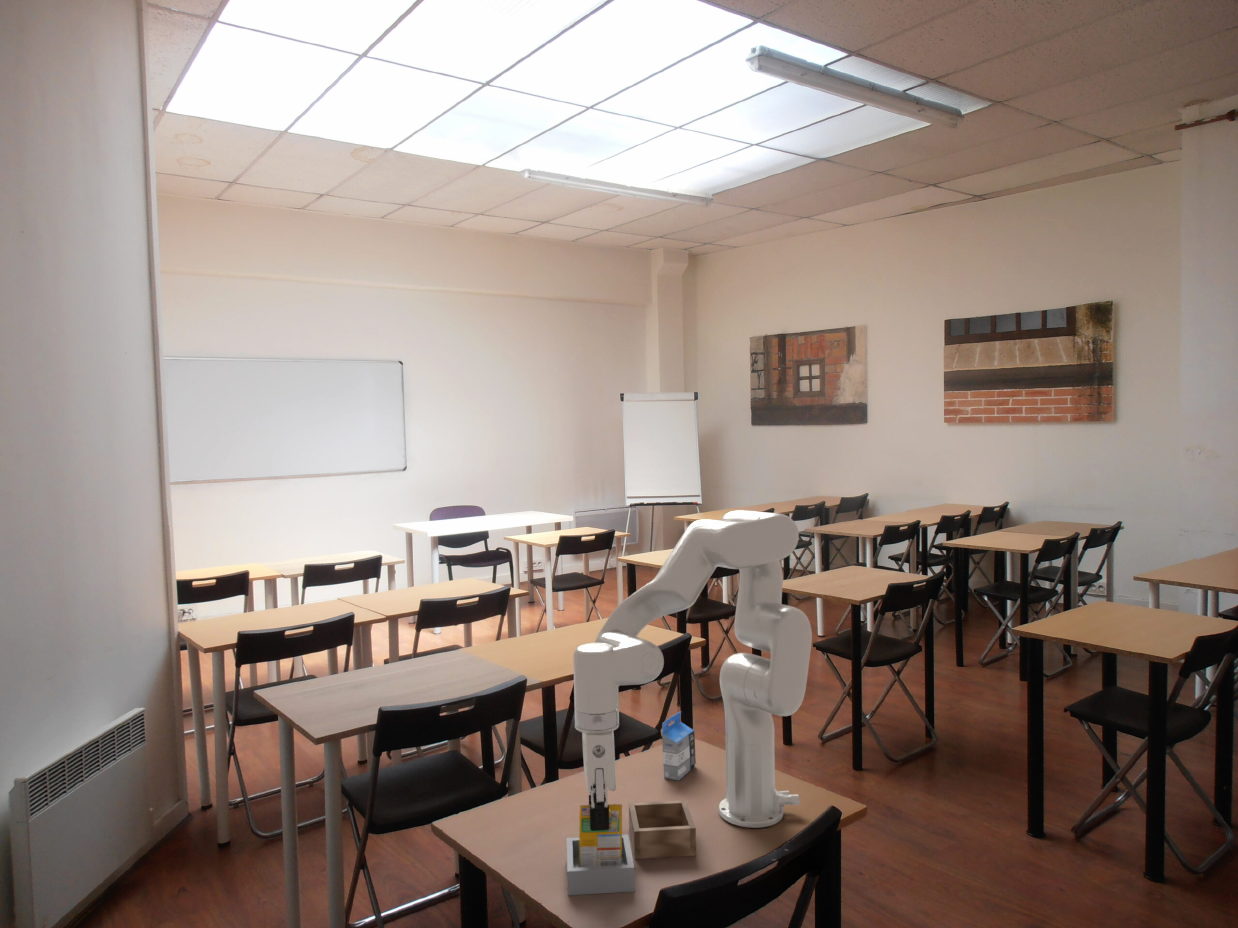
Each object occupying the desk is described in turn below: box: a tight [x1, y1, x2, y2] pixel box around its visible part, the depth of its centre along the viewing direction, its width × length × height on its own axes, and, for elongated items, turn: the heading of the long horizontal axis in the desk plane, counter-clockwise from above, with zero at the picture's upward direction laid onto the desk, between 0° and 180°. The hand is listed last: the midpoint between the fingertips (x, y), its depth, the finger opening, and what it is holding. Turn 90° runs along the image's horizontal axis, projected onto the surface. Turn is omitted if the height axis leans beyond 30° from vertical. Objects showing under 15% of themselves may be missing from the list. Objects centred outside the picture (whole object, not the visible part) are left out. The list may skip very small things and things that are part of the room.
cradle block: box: [566, 834, 636, 896], centre depth 137 cm, size 11×11×4 cm
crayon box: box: [578, 803, 623, 868], centre depth 137 cm, size 7×3×12 cm, turn 94°
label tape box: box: [661, 710, 697, 782], centre depth 178 cm, size 9×4×12 cm, turn 149°
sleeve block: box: [628, 799, 697, 860], centre depth 148 cm, size 11×11×5 cm
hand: (599, 822), depth 137 cm, fingers open, 3 cm apart
